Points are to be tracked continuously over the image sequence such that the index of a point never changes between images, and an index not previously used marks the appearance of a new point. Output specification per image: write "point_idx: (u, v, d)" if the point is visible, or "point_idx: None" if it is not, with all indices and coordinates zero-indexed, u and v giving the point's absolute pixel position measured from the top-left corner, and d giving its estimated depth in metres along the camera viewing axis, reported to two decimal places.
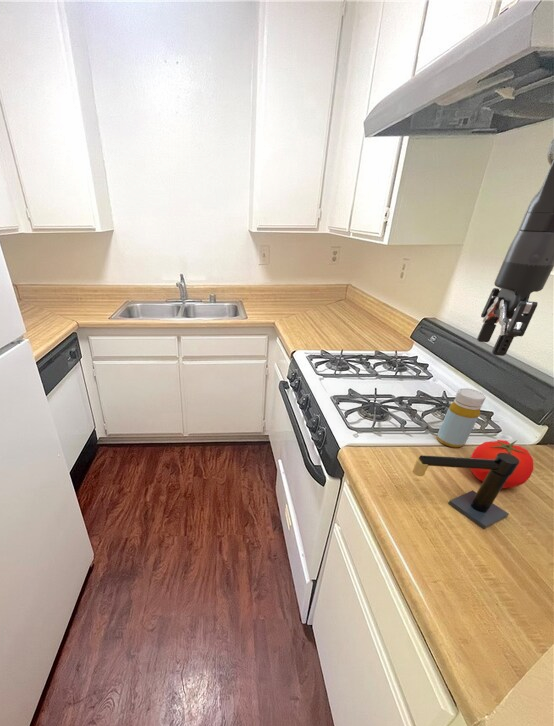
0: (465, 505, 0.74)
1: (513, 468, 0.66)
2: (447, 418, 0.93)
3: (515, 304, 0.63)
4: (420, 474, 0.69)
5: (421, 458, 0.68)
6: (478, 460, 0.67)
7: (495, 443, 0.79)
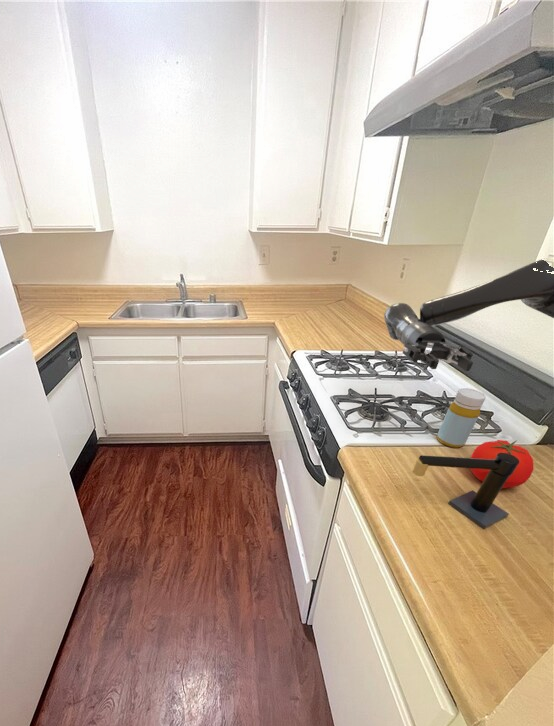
0: (465, 505, 0.74)
1: (513, 468, 0.66)
2: (447, 418, 0.93)
3: None
4: (420, 474, 0.69)
5: (421, 458, 0.68)
6: (478, 460, 0.67)
7: (495, 443, 0.79)
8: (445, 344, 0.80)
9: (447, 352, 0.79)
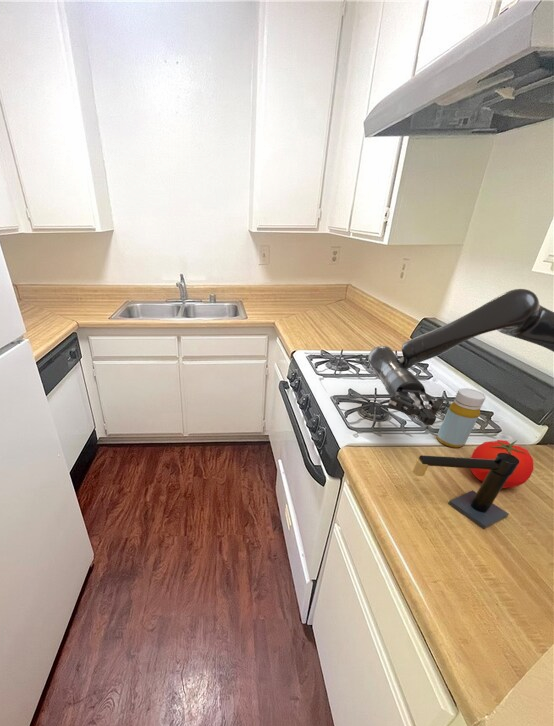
0: (465, 505, 0.74)
1: (513, 468, 0.66)
2: (447, 418, 0.93)
3: None
4: (420, 474, 0.69)
5: (421, 458, 0.68)
6: (478, 460, 0.67)
7: (495, 443, 0.79)
8: (422, 395, 0.83)
9: None
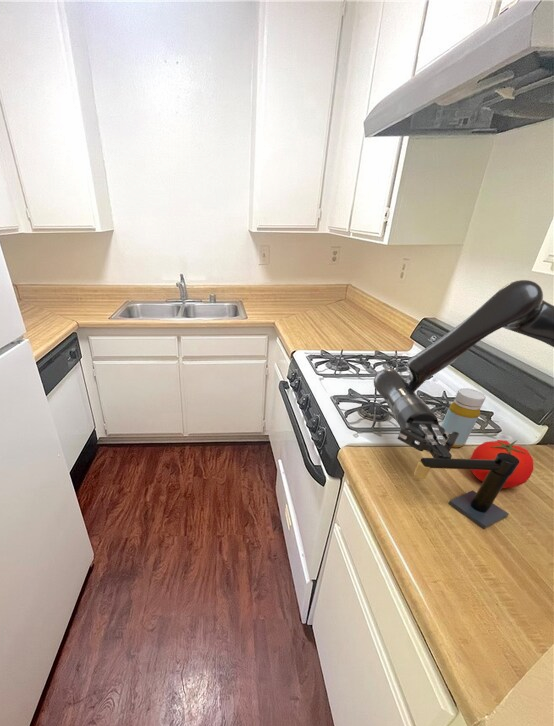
0: (465, 505, 0.74)
1: (513, 468, 0.66)
2: (447, 418, 0.93)
3: None
4: (422, 477, 0.68)
5: (423, 461, 0.68)
6: (479, 461, 0.67)
7: (495, 443, 0.79)
8: (435, 428, 0.75)
9: None
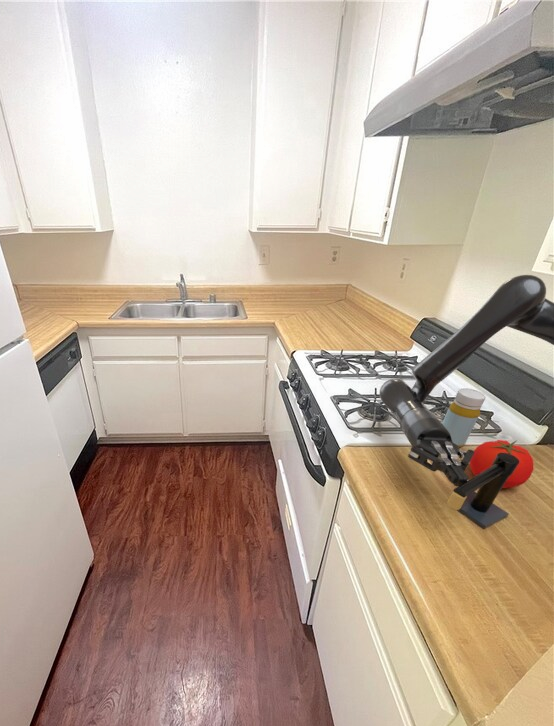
0: (465, 505, 0.74)
1: (516, 466, 0.66)
2: (447, 418, 0.93)
3: None
4: (459, 507, 0.62)
5: (459, 491, 0.60)
6: (493, 471, 0.65)
7: (495, 443, 0.79)
8: (449, 446, 0.70)
9: None
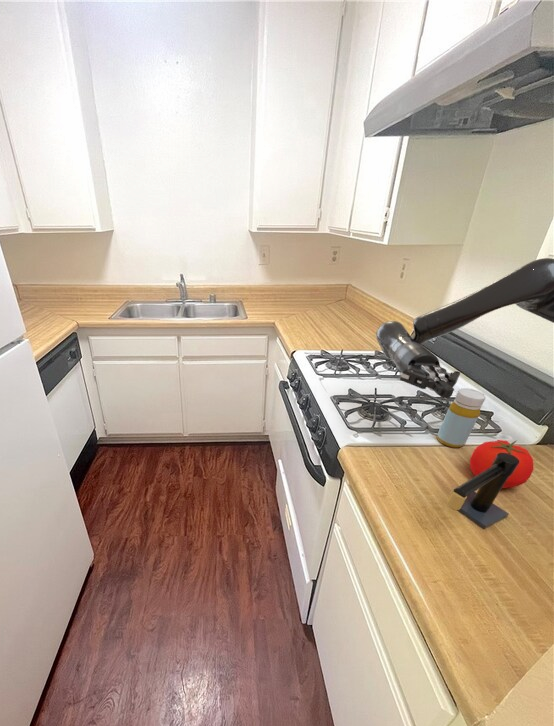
0: (465, 505, 0.74)
1: (516, 466, 0.66)
2: (447, 418, 0.93)
3: None
4: (460, 507, 0.62)
5: (459, 491, 0.60)
6: (493, 471, 0.65)
7: (495, 443, 0.79)
8: (437, 368, 0.76)
9: None
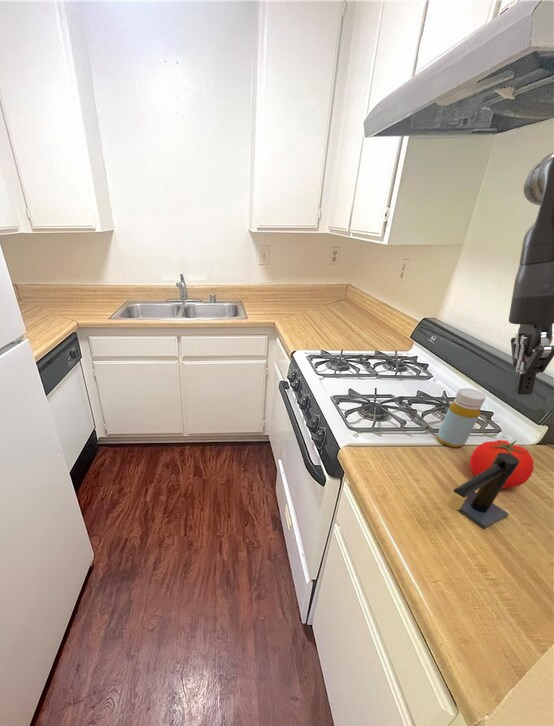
0: (465, 505, 0.74)
1: (516, 466, 0.66)
2: (447, 418, 0.93)
3: (537, 338, 0.56)
4: (460, 507, 0.62)
5: (459, 491, 0.60)
6: (493, 471, 0.65)
7: (495, 443, 0.79)
8: None
9: None
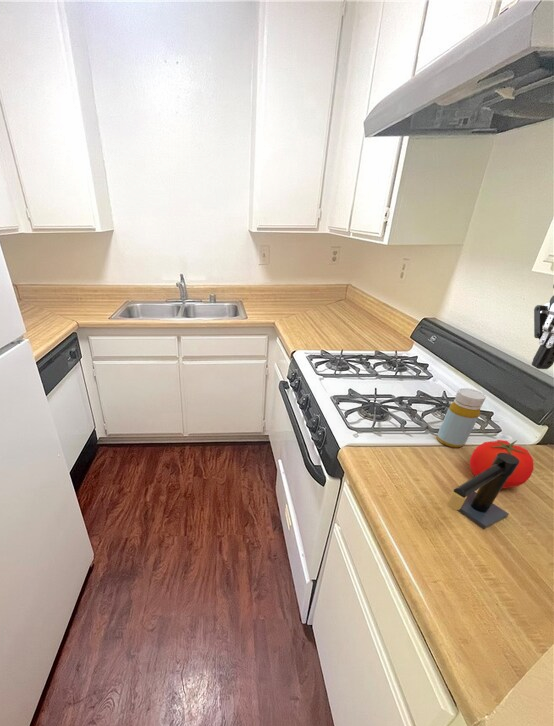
0: (465, 505, 0.74)
1: (516, 466, 0.66)
2: (447, 418, 0.93)
3: None
4: (460, 507, 0.62)
5: (459, 491, 0.60)
6: (493, 471, 0.65)
7: (495, 443, 0.79)
8: None
9: None
